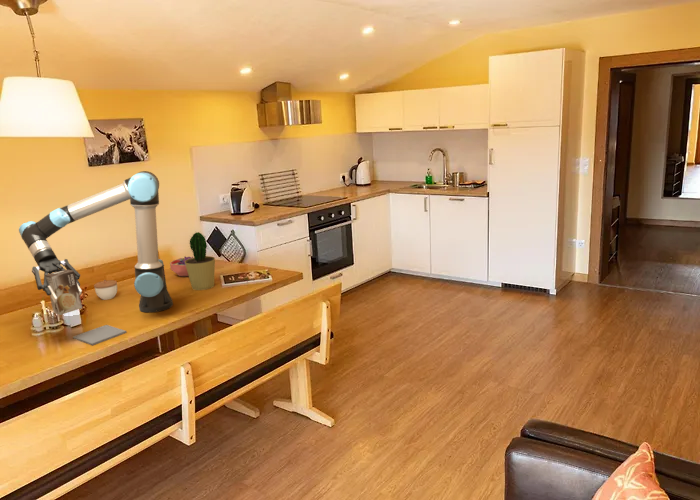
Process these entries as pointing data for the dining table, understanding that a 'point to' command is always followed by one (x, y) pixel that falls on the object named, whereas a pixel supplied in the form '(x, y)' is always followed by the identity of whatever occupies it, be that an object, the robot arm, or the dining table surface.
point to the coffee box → (64, 291)
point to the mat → (99, 334)
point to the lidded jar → (106, 289)
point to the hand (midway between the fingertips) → (68, 296)
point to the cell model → (179, 266)
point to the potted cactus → (200, 264)
